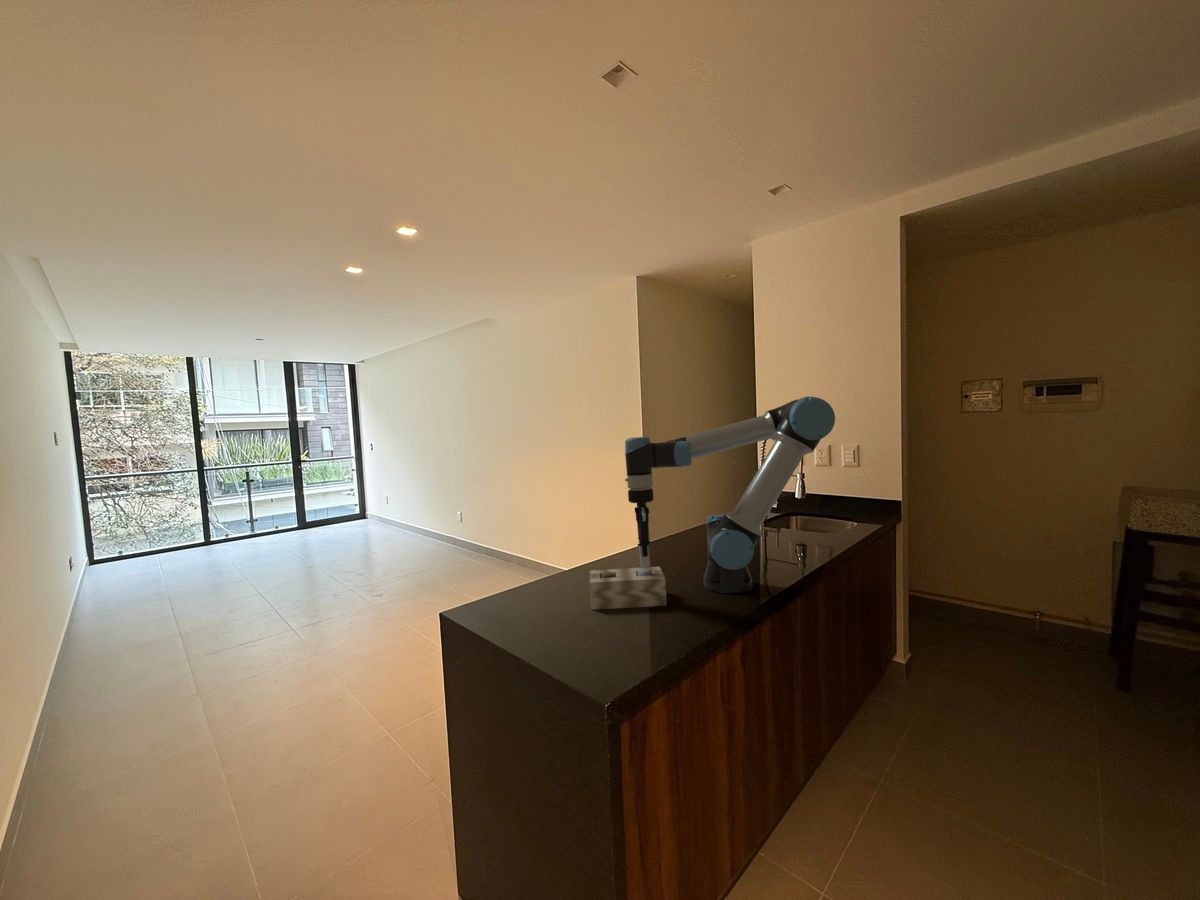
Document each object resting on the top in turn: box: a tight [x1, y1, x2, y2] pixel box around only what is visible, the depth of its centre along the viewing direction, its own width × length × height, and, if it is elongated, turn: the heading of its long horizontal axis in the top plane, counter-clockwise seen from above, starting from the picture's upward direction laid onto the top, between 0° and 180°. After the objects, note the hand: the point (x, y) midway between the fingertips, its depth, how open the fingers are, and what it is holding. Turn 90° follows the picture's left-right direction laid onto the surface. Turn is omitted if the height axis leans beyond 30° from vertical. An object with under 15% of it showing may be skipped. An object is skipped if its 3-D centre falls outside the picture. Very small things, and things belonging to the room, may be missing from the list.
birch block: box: [589, 566, 668, 611], centre depth 144 cm, size 22×12×8 cm, turn 91°
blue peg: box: [638, 570, 651, 576], centre depth 144 cm, size 4×4×8 cm
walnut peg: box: [601, 572, 615, 578], centre depth 144 cm, size 4×4×8 cm
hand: (645, 566), depth 144 cm, fingers closed
